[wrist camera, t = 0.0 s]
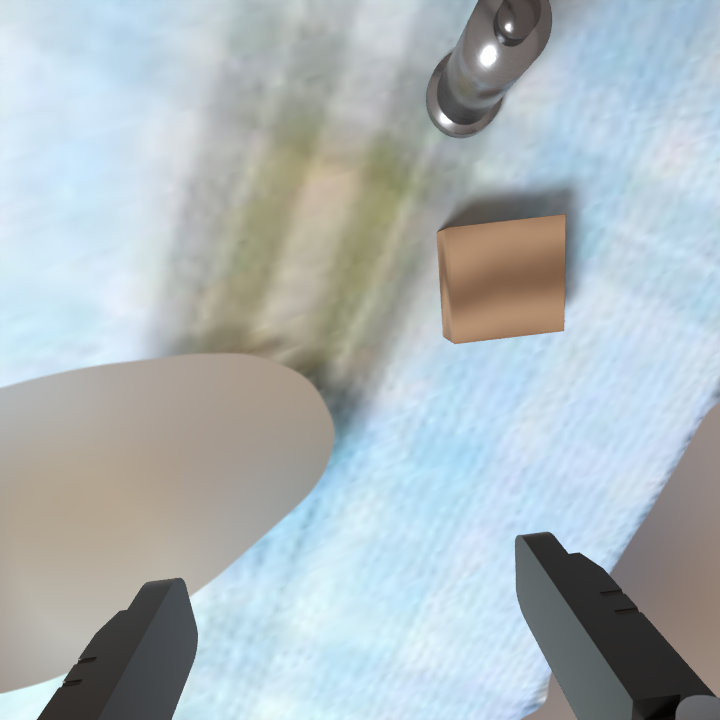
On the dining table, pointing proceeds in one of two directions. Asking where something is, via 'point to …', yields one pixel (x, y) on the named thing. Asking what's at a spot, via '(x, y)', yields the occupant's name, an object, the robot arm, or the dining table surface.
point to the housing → (486, 63)
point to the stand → (502, 279)
